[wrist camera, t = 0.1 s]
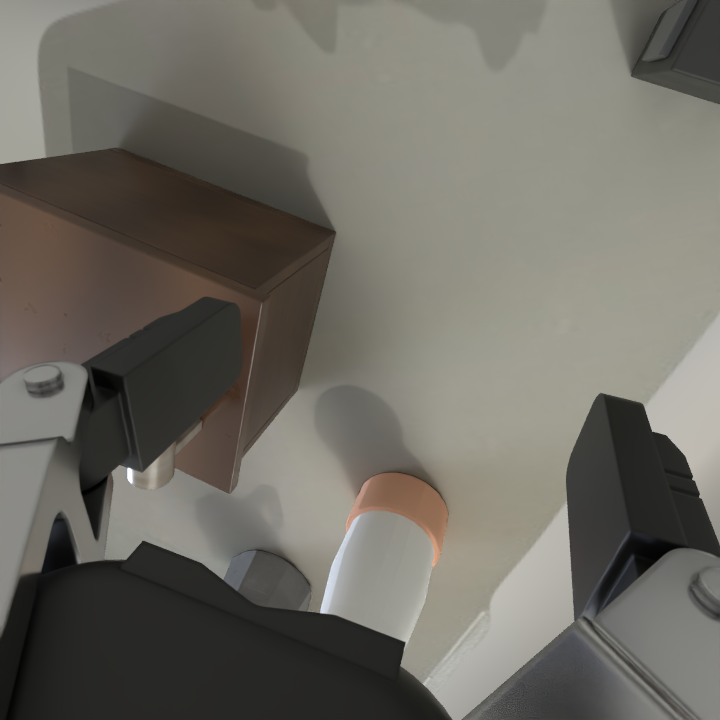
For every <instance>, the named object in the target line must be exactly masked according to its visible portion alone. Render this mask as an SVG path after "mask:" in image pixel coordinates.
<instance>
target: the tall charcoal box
mask: <svg viewBox="0 0 720 720" xmlns="http://www.w3.org/2000/svg"><path fill="white" fill-rule="evenodd" d="M631 76H632V77H634V78H637V79H641V80H644V81H647V82H650V83H653V84H656V85H660V86H663V87H666V88H669V89H672V90H676V91H679V92H682V93H685V94H688V95H692V96H695V97H698V98H701V99H704V100H707V101H711V102H714V103H717V104H720V0H681V1H680V2H678V3H677V4H675V5H674V6H672V7H670V8H669V9H667V10H666V11H664V12H663V13H662V14H661V16H660V18H659V20H658V22H657V24H656V26H655V28H654V30H653V32H652V34H651V36H650V38H649V40H648V42H647V44H646V46H645V48H644V50H643V52H642V54H641V56H640V58H639V60H638V62H637V64H636V66H635V68H634V70H633V72H632V74H631Z"/></svg>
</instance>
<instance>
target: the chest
mask: <svg viewBox="0 0 720 720" xmlns="http://www.w3.org/2000/svg"><path fill="white" fill-rule="evenodd" d="M0 184H2V185H5V186H7V187H10V188H12V189H15V190H17V191H19V192H22V193H24V194H27V195H29V196H31V197H34V198H36V199H39V200H41V201H43V202H46V203H48V204H51V205H53V206H55V207H58V208H60V209H63V210H65V211H68V212H70V213H72V214H75V215H77V216H80V217H82V218H84V219H87V220H89V221H92V222H94V223H96V224H99V225H101V226H104V227H106V228H109V229H111V230H113V231H116V232H118V233H121V234H123V235H125V236H128V237H130V238H133V239H135V240H137V241H140V242H142V243H145V244H147V245H150V246H152V247H154V248H157V249H159V250H162V251H164V252H166V253H169V254H171V255H174V256H176V257H178V258H181V259H183V260H186V261H188V262H191V263H193V264H195V265H198V266H200V267H203V268H205V269H207V270H210V271H212V272H215V273H217V274H219V275H222V276H224V277H227V278H229V279H232V280H234V281H236V282H239V283H241V284H244V285H246V286H248V287H251V288H253V289H256V290H258V291H260V292H263V293H265V294H268V295H270V296H271V298H270V304H269V309H268V315H267V321H266V326H265V332H264V337H263V343H262V348H261V354H260V360H259V365H258V371H257V376H256V382H255V387H254V393H253V399H252V404H251V410H250V415H249V421H248V426H247V432H246V437H245V443H244V449H243V454H242V458H243V456H244V455H245V454H246V453H247V452H248V450H249V449H250V448H251V447H252V445H253V444H254V443H255V442H256V440H257V439H258V438H259V437H260V436H261V434H262V433H263V432H264V431H265V429H266V428H267V427H268V426H269V425H270V423H271V422H272V421H273V420H274V418H275V417H276V416H277V415H278V413H279V412H280V411H281V410H282V409H283V407H284V406H285V405H286V404H287V402H288V401H289V400H290V399H291V397H292V396H293V395H294V394H295V393H296V392H297V390H298V386H299V381H300V377H301V373H302V369H303V365H304V361H305V357H306V353H307V349H308V345H309V341H310V337H311V333H312V328H313V324H314V320H315V316H316V312H317V308H318V304H319V300H320V296H321V292H322V288H323V284H324V279H325V275H326V271H327V267H328V263H329V259H330V255H331V251H332V247H333V243H334V239H335V235H336V232H334V231H331V230H328V229H326V228H323V227H321V226H318V225H316V224H313V223H310V222H308V221H305V220H303V219H300V218H297V217H295V216H292V215H290V214H287V213H285V212H282V211H279V210H277V209H274V208H272V207H269V206H266V205H264V204H261V203H259V202H256V201H254V200H251V199H248V198H246V197H243V196H241V195H238V194H236V193H233V192H230V191H228V190H225V189H223V188H220V187H217V186H215V185H212V184H210V183H207V182H205V181H202V180H199V179H197V178H194V177H192V176H189V175H187V174H184V173H181V172H179V171H176V170H174V169H171V168H168V167H166V166H163V165H161V164H158V163H156V162H153V161H150V160H148V159H145V158H143V157H140V156H138V155H135V154H132V153H130V152H127V151H125V150H122V149H119V148H111V149H106V150H99V151H92V152H85V153H77V154H70V155H63V156H56V157H49V158H41V159H34V160H27V161H20V162H13V163H6V164H0Z"/></svg>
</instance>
